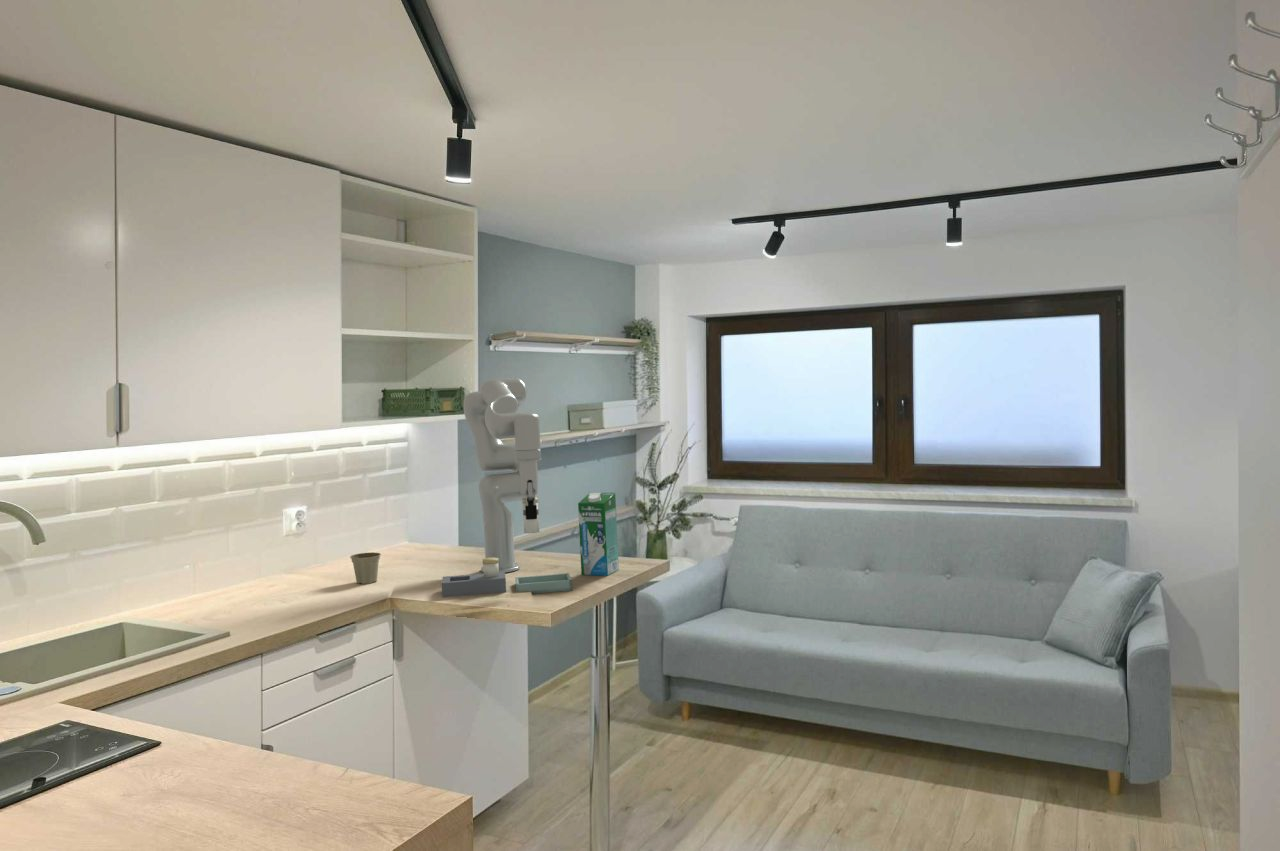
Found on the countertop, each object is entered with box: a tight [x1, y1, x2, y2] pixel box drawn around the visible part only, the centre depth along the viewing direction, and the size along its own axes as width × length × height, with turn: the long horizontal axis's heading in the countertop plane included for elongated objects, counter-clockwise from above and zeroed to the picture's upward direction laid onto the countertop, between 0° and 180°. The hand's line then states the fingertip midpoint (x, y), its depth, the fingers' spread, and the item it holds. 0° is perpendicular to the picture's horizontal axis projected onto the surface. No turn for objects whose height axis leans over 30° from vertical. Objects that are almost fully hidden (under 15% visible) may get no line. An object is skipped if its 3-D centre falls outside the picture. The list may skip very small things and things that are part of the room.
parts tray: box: [514, 573, 573, 595], centre depth 261 cm, size 10×16×3 cm, turn 100°
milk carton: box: [577, 492, 619, 577], centre depth 281 cm, size 9×9×25 cm
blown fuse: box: [521, 496, 540, 534], centre depth 260 cm, size 5×5×10 cm
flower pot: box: [349, 552, 382, 585], centre depth 281 cm, size 9×9×9 cm
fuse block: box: [441, 557, 507, 598], centre depth 258 cm, size 9×18×10 cm, turn 100°
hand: (531, 517), depth 260 cm, fingers closed on blown fuse, 4 cm apart
